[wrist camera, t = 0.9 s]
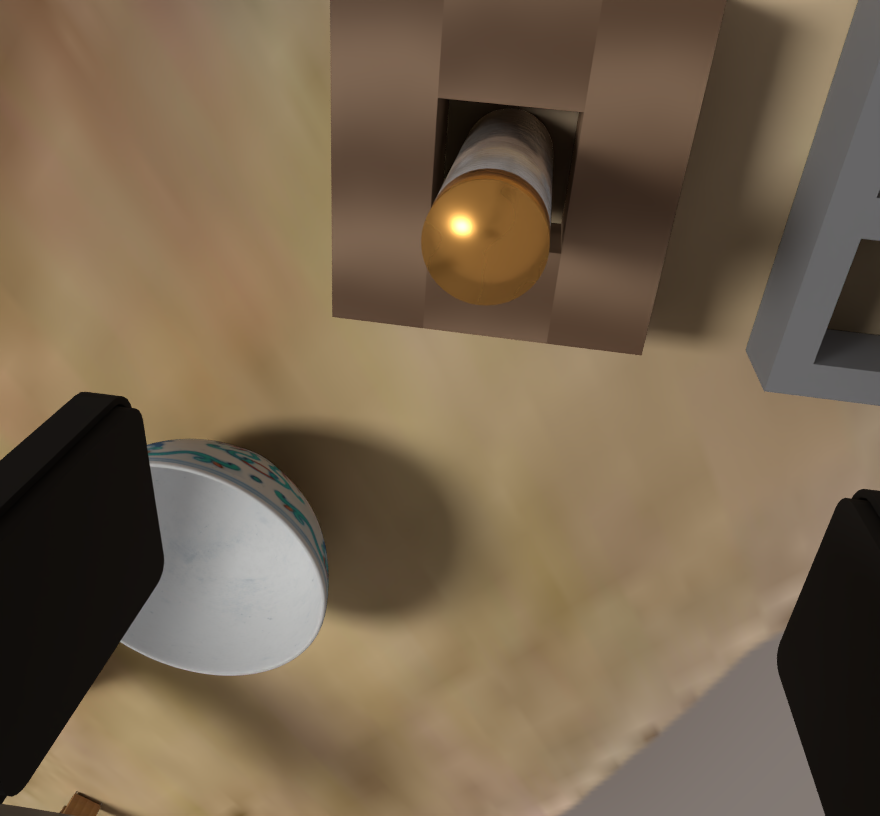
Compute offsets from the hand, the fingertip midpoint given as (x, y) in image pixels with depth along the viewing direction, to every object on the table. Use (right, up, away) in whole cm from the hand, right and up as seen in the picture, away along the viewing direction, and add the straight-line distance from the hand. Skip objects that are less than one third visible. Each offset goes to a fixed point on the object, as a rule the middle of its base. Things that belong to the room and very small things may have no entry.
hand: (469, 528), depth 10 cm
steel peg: (+3, +13, +23) cm, 27 cm away
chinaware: (-13, -3, +36) cm, 38 cm away
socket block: (+3, +13, +23) cm, 27 cm away
